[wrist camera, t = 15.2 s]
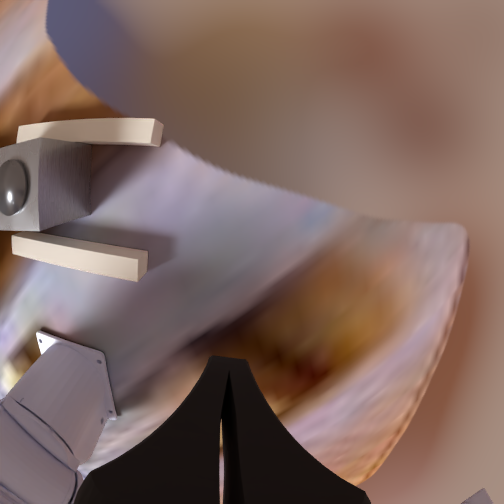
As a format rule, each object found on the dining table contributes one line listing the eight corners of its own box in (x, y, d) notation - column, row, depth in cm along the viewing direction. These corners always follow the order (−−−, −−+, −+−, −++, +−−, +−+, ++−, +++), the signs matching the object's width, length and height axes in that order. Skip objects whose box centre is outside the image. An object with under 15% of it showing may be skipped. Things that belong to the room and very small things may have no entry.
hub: (90, 214, 17) (36, 232, 11) (43, 215, 17) (-11, 231, 10) (92, 145, 16) (37, 136, 9) (44, 152, 15) (-12, 150, 9)
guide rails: (147, 271, 18) (137, 282, 16) (26, 247, 17) (12, 253, 15) (163, 124, 16) (154, 118, 14) (34, 128, 15) (19, 126, 13)
